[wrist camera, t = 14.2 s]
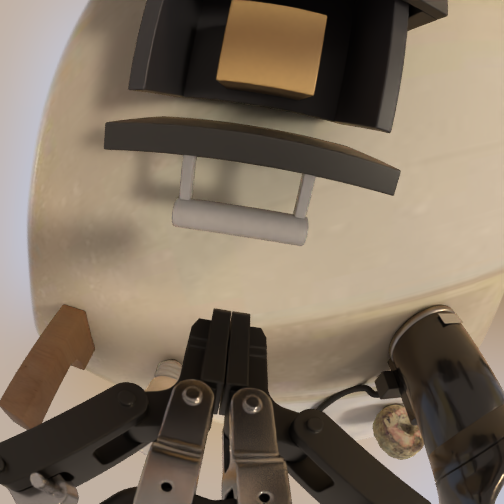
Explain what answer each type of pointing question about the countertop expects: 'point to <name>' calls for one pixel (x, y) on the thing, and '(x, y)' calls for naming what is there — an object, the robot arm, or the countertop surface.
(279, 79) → the cube
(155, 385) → the light bulb
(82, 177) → the countertop surface
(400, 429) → the stone ring
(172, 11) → the pull-out drawer
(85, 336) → the wooden block
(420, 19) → the dark drawer cabinet
